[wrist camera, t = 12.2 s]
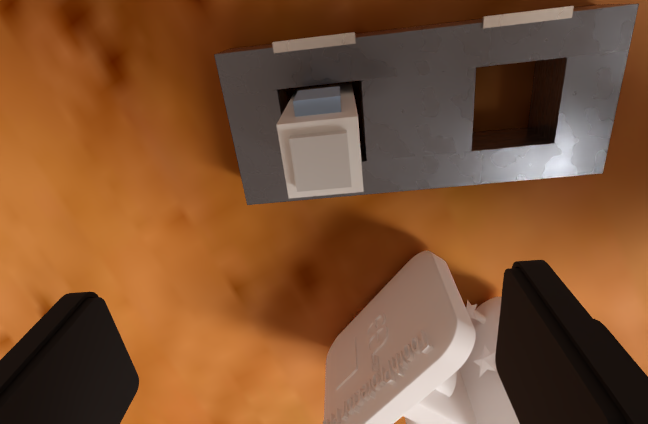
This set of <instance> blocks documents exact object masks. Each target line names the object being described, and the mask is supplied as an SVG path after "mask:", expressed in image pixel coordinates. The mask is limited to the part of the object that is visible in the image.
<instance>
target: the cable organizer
mask: <svg viewBox="0 0 648 424" xmlns="http://www.w3.org/2000/svg"><path fill="white" fill-rule="evenodd" d="M501 299H502V297H494V298H491V299H489V300H487V301H486V302H484V303H482V304H481V305H479V306H478V307H477V308H476V306H477V304H475V305H471V304H470V302H469V301H468V300H467V306H466V307H465V305H464V303H463V300H462V298H461V296H460V293H459V291H458V289H457V286H456V284H455V282H454V279H453V277H452V275H451V272H450V270H449V268H448V265H447V263H446V261H444V260H443V259H441V258H440V257H438V256H437V255H435V254H434V253H432V252H431V251H422V252H420V253H418V254H417V255H415V256H414V257H413V258H412V259H410V260H409V261H408V262H407V263H406V264H405V266H404V267H403V268H402V269H401V270H400V271H399V272H398V273H397V274H396V275H395V276H394V277H393V278H392V279H391V280H390V281H389V282H388V283H387V284H386V286H385V287H384V288H383V289H382V290H381V291H380V292H379V293H378V294H377V295H376V296H375V297H374V298H373V299H372V300H371V301H370V302H369V303H368V305H367V306H366V307H365V308H364V309H363V310H362V311H361V312H360V313H359V314H358V315H357V316H356V317H355V318H354V319H353V320H352V321H351V322H350V323H349V325H348V326H347V327H346V328H345V329H344V330H343V331H342V332H341V333H340V334H339V335H338V336H337V338H336V339H335V341H334V342H333V344H332V345H331V347H330V349H329V352H328V355H327V358H326V376H325V405H324V421H323V424H394V423H395V422H396V421H397V420H398V419H400V418H401V417H402V416H404V417H405V421H406V424H520V423H519V421H518V418H517V416H516V414H515V412H514V409H513V407H512V405H511V402H510V400H509V398H508V396H507V393H506V391H505V389H504V386H503V384H502V382H501V379H500V377H499V375H498V372H497V368H496V363H495V354H496V345H497V336H498V326H499V317H500V308H501ZM475 308H476V309H475Z"/></svg>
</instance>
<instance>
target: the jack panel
mask: <svg viewBox="0 0 648 424" xmlns="http://www.w3.org/2000/svg"><path fill="white" fill-rule="evenodd" d="M638 5H639V4H607V5H590V6H582V7H574V6H566V7H557V8H549V9H541V10H533V11H524V12H516V13H508V14H500V15H491V16H483V17H482V19H474V20H466V21H457V22H449V23H441V24H433V25H424V26H416V27H408V28H399V29H391V30H383V31H374V32H366V33H358V34H355V32H351V33H342V34H334V35H326V36H317V37H309V38H301V39H293V40H284V41H276V42H272V44H266V45H258V46H250V47H242V48H233V49H229V50H226V51H223V52H220V53H217V54H214V55H215V60H216V65H217V69H218V74H219V78H220V83H221V87H222V92H223V96H224V101H225V106H226V110H227V115H228V119H229V124H230V128H231V133H232V138H233V142H234V147H235V151H236V156H237V160H238V165H239V169H240V174H241V179H242V183H243V188H244V192H245V197H246V201H247V205H252V204H263V203H275V202H286V201H297V200H308V199H320V198H331V197H342V196H353V195H365V194H376V193H387V192H398V191H410V190H421V189H432V188H443V187H455V186H466V185H477V184H489V183H500V182H511V181H522V180H534V179H545V178H556V177H567V176H579V175H590V174H601V173H603V169H604V165H605V160H606V155H607V151H608V146H609V141H610V137H611V132H612V127H613V122H614V118H615V113H616V108H617V104H618V99H619V94H620V90H621V85H622V80H623V75H624V71H625V66H626V61H627V57H628V52H629V47H630V43H631V38H632V33H633V28H634V24H635V19H636V14H637V10H638ZM529 61H536V63H535V72H534V80H533V89H532V97H531V106H530V114H529V123H528V127H524V128H514V129H504V130H494V131H484V132H474V133H473V115H474V97H475V79H476V67H484V66H493V65H502V64H511V63H520V62H529ZM358 80H359V87H360V101H361V116H362V130H363V144H360V150H361V163H362V177H363V190H364V192H357V193H346V194H334V195H323V196H312V197H301V198H290V199H289V198H288V192H287V186H286V180H285V174H284V168H283V162H282V156H281V150H280V144H279V138H278V132H277V126H276V125H277V123H278V121H279V119H280V117H281V115H282V113H283V112H284V110H285V108H286V106H287V104H288V98H287V91H286V88H295V87H304V86H313V85H322V84H331V83H340V82H349V81H358Z"/></svg>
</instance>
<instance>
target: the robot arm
mask: <svg viewBox="0 0 648 424" xmlns="http://www.w3.org/2000/svg"><path fill="white" fill-rule="evenodd" d="M495 363H496V368H497V372H498V375H499V377H500V379H501V382H502V384H503V386H504V389H505V391H506V393H507V396H508V398H509V400H510V402H511V405H512V407H513V409H514V412H515V414H516V416H517V418H518V421H519V423H520V424H648V377H647V375H646V374H645V373H644V372H643V371H642V369H641V368H640V367H639V366H638V365H637V364H636V362H635V361H634V360H633V359H632V358H631V356H630V355H629V354H628V353H627V352H626V350H625V349H624V348H623V347H622V346H621V345H620V343H619V342H618V341H617V340H616V339H615V337H614V336H613V335H612V334H611V333H610V331H609V330H608V329H607V328H606V327H605V326H604V325H603V324H602V323H601V322H600V321H598V320H595V319H593V318H592V317H591V316H590V315H589V313H588V312H587V311H586V310H585V309H584V307H583V306H582V305H581V304H580V303H579V301H578V300H577V299H576V298H575V296H574V295H573V294H572V293H571V292H570V290H569V289H568V288H567V287H566V285H565V284H564V283H563V282H562V281H561V279H560V278H559V277H558V276H557V275H556V273H555V272H554V271H553V270H552V268H551V267H550V266H549V265H548V264H547V263H546V262H545V261H544V260H532V261H518V262H515V263H514V264H513V266H512V269H506V270H505V273H504V280H503V289H502V299H501V308H500V317H499V326H498V336H497V345H496V354H495ZM138 386H139V377H138V374H137V372H136V370H135V368H134V365H133V363H132V361H131V359H130V356H129V354H128V352H127V350H126V347H125V345H124V343H123V341H122V338H121V336H120V334H119V332H118V330H117V327H116V325H115V323H114V321H113V318H112V316H111V314H110V312H109V309H108V307H107V305H106V303H105V301H104V299H102V298H100V297H98V295H97V294H95V293H94V292H81V293H69V294H65V295H64V296H63V297H62V298H61V299H60V300H59V301H58V302H57V303H56V304H55V305H54V306H53V307H52V308H51V309H50V310H49V311H48V312H47V313H46V314H45V315H44V316H43V317H42V318H41V319H40V320H39V321H38V322H37V323H36V324H35V325H34V326H33V327H32V328H31V329H30V330H29V331H28V332H27V333H26V334H25V336H24V337H23V338H22V339H21V340H20V341H19V342H18V343H17V344H16V345H15V346H14V347H13V348H12V349H11V350H10V351H9V352H8V353H7V354H6V355H5V356H4V357H3V358H2V359H1V360H0V424H120V422H121V420H122V419H123V417H124V415H125V413H126V411H127V409H128V407H129V405H130V404H131V402H132V400H133V398H134V396H135V394H136V392H137V390H138Z"/></svg>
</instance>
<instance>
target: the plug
mask: <svg viewBox="0 0 648 424" xmlns="http://www.w3.org/2000/svg"><path fill="white" fill-rule="evenodd" d="M276 126H277V132H278V138H279V144H280V150H281V156H282V162H283V168H284V174H285V180H286V186H287V192H288V198H289V199H290V198H301V197H312V196H323V195H334V194H346V193H357V192H364V190H363V177H362V163H361V150H360V136H359V123H358V114H357V108H356V103H355V98H354V92H353V87H352V83H346V84H337V85H328V86H319V87H310V88H301V89H295V91H294V93H293V95H292V97H291V99H290V100H289V102H288V104H287V106H286V108H285V110H284V112H283V113H282V115H281V117H280V119H279V121H278V123H277V125H276Z"/></svg>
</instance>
